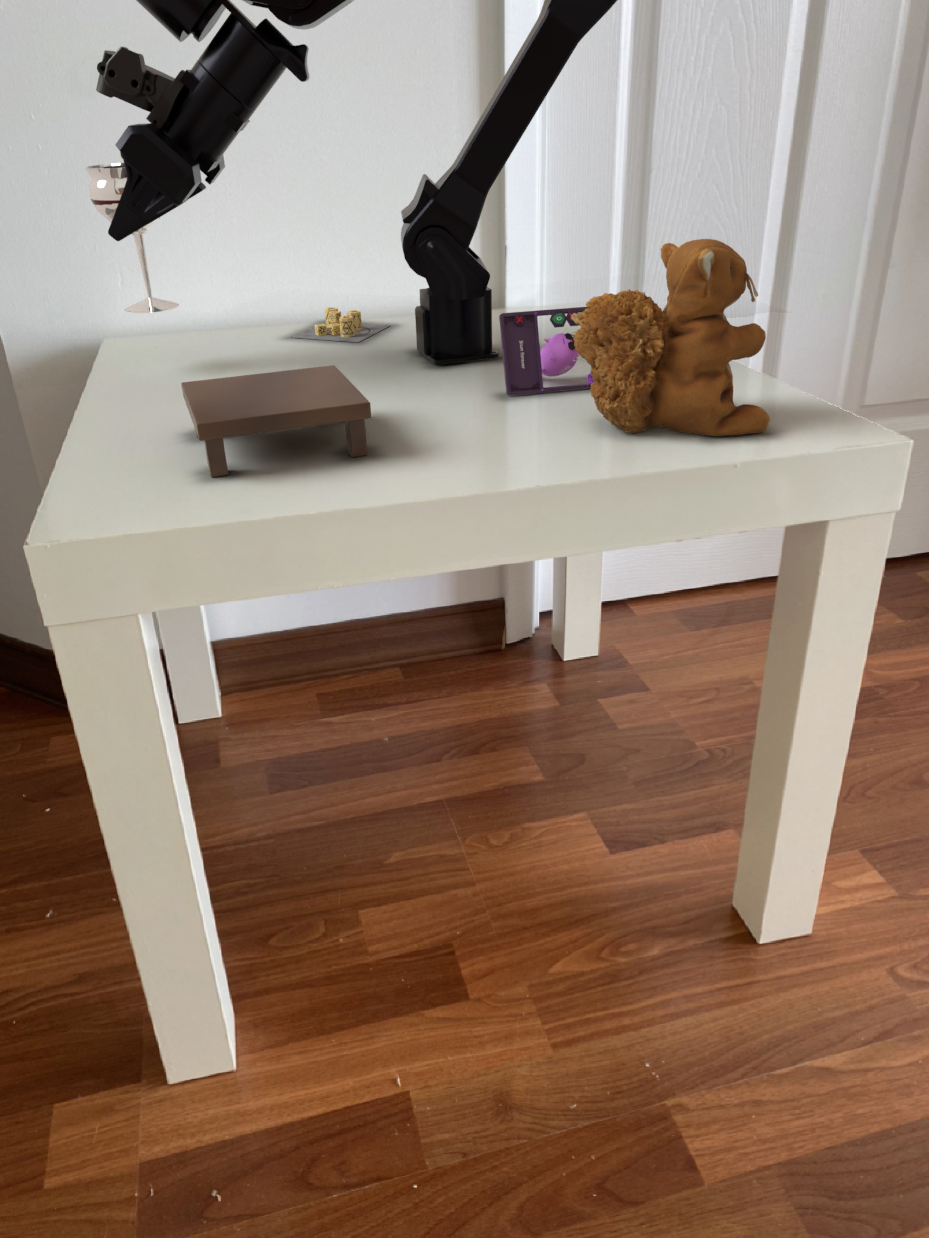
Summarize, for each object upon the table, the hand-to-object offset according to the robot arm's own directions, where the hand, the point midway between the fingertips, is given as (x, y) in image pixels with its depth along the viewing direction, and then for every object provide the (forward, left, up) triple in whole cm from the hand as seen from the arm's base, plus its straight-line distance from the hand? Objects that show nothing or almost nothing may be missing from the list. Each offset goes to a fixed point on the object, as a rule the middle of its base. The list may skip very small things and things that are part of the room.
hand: (121, 232), depth 86 cm
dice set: (-21, -7, -12) cm, 25 cm away
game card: (-33, +21, -13) cm, 41 cm away
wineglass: (-1, 0, -7) cm, 7 cm away
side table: (-8, +27, -12) cm, 30 cm away
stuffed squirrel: (-37, +34, -12) cm, 52 cm away
